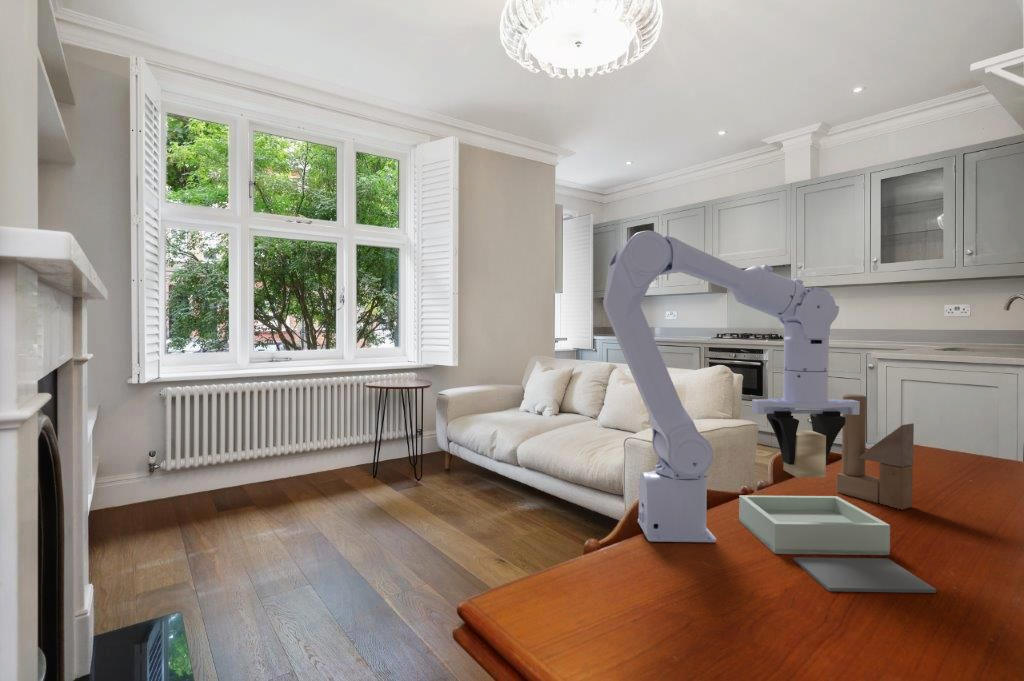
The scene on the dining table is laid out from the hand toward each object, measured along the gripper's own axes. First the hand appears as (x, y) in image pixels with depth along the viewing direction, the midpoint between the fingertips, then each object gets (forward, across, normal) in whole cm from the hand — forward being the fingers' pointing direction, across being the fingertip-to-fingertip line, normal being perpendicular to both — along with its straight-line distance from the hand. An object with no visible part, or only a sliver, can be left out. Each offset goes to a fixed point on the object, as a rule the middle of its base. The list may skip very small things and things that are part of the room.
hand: (804, 463), depth 77 cm
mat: (+10, 0, +13) cm, 17 cm away
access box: (+10, 0, +1) cm, 10 cm away
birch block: (+2, 0, 0) cm, 2 cm away
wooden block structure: (+11, -20, -16) cm, 28 cm away
